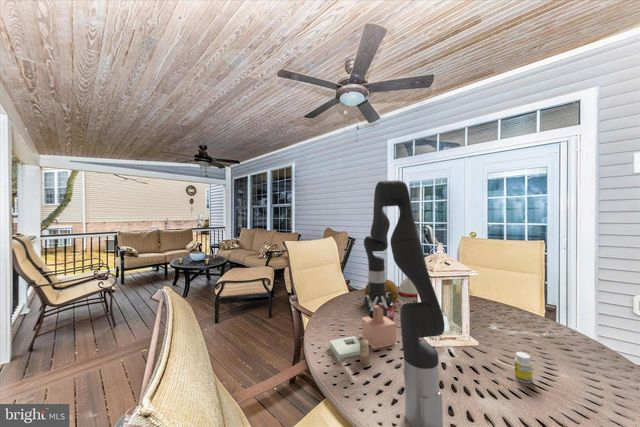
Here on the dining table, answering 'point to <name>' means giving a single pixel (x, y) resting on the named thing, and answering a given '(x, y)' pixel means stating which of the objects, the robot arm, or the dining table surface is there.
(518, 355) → the supplement bottle
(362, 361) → the peg
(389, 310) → the soda can
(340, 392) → the dining table surface
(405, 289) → the kitchen timer
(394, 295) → the decorative pumpkin
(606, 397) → the dining table surface
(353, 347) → the peg board
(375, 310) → the peach stamp with handle
